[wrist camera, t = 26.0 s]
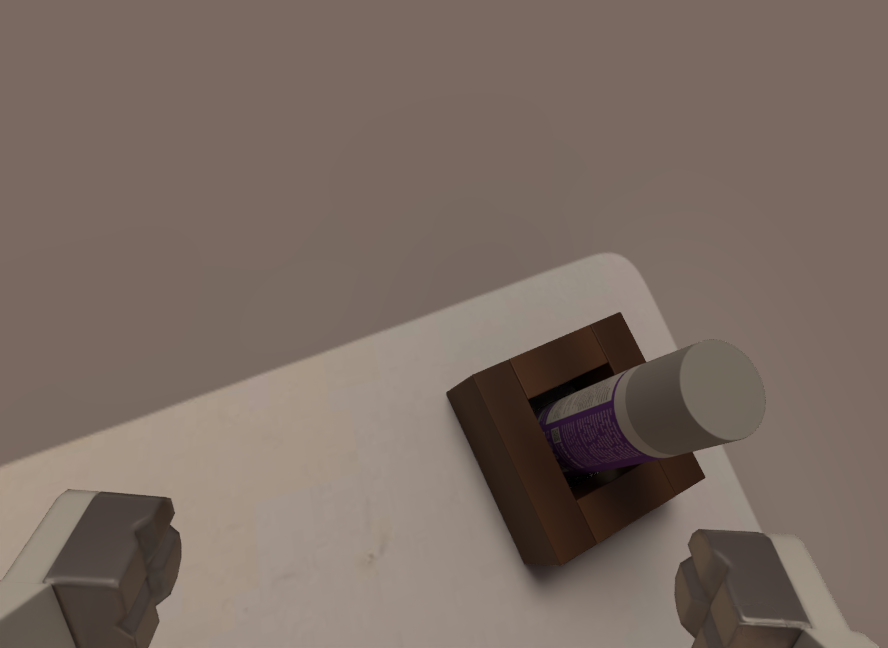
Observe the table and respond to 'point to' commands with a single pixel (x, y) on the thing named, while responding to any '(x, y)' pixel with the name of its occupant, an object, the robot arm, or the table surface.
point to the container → (657, 410)
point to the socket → (531, 459)
